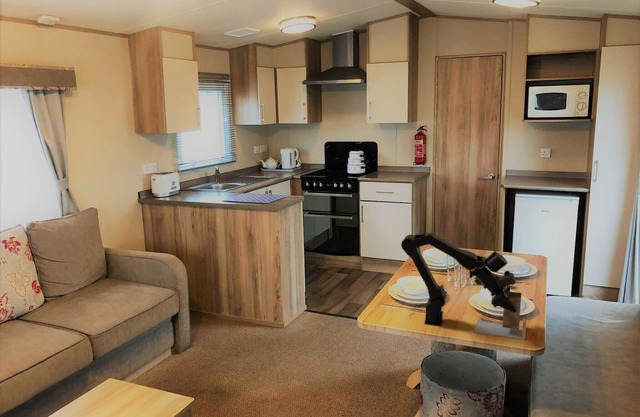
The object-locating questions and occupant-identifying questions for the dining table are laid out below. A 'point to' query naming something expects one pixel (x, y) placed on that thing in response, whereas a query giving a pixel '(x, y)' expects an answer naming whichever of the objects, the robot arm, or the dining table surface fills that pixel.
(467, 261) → the robot arm
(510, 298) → the brown wooden block
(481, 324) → the bay
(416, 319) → the dining table surface
